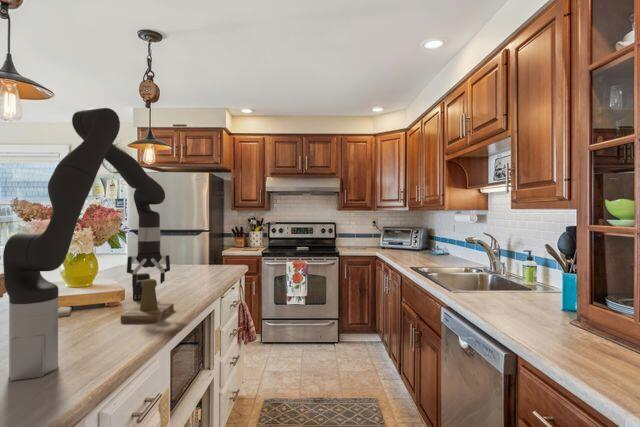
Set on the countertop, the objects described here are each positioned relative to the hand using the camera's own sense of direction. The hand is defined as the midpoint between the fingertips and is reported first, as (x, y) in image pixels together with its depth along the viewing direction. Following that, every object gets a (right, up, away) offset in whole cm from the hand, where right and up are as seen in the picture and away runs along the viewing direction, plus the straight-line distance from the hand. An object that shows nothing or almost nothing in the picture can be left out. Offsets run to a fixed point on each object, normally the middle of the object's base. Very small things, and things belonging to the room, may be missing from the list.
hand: (148, 283), depth 131 cm
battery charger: (-15, -12, +24) cm, 31 cm away
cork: (0, -10, 0) cm, 10 cm away
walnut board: (0, -12, 0) cm, 12 cm away
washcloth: (-38, -12, +5) cm, 41 cm away
